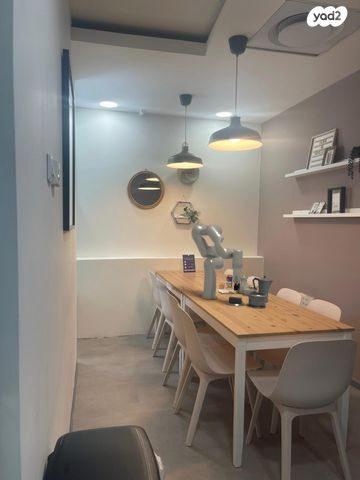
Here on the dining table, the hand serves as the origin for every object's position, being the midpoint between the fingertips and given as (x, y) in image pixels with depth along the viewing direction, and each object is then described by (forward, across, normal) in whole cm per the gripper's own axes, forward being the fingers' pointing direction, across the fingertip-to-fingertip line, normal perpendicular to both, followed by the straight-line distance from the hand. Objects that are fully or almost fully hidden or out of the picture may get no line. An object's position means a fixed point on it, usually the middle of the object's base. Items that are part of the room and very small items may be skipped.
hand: (236, 289), depth 252 cm
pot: (+11, -1, +14) cm, 18 cm away
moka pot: (+11, -19, +17) cm, 28 cm away
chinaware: (+11, -46, +3) cm, 47 cm away
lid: (+11, 0, -1) cm, 11 cm away
